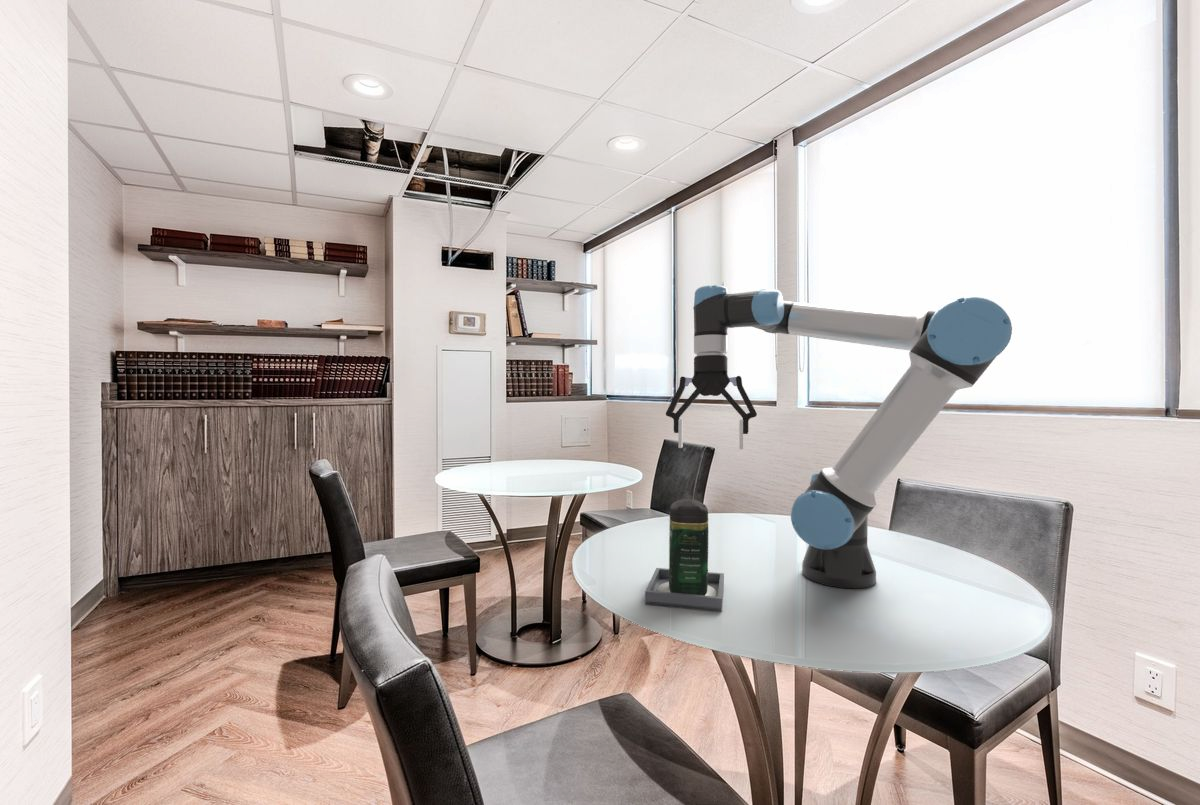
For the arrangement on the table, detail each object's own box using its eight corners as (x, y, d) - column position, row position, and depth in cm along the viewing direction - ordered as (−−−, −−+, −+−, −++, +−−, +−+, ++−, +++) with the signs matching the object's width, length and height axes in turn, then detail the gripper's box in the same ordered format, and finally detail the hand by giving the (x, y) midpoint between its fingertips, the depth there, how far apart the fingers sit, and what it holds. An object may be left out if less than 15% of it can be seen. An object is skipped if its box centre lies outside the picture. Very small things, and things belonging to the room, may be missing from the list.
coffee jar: (709, 601, 104) (710, 506, 103) (668, 598, 105) (669, 504, 104) (706, 583, 113) (706, 496, 113) (669, 581, 114) (669, 495, 114)
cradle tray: (723, 584, 114) (723, 573, 114) (721, 611, 100) (721, 598, 100) (656, 578, 118) (656, 567, 118) (645, 604, 104) (645, 591, 104)
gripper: (766, 355, 122) (766, 447, 123) (658, 357, 128) (658, 445, 129) (768, 352, 115) (768, 450, 115) (653, 355, 121) (654, 448, 121)
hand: (710, 448), depth 122 cm, fingers open, 13 cm apart
